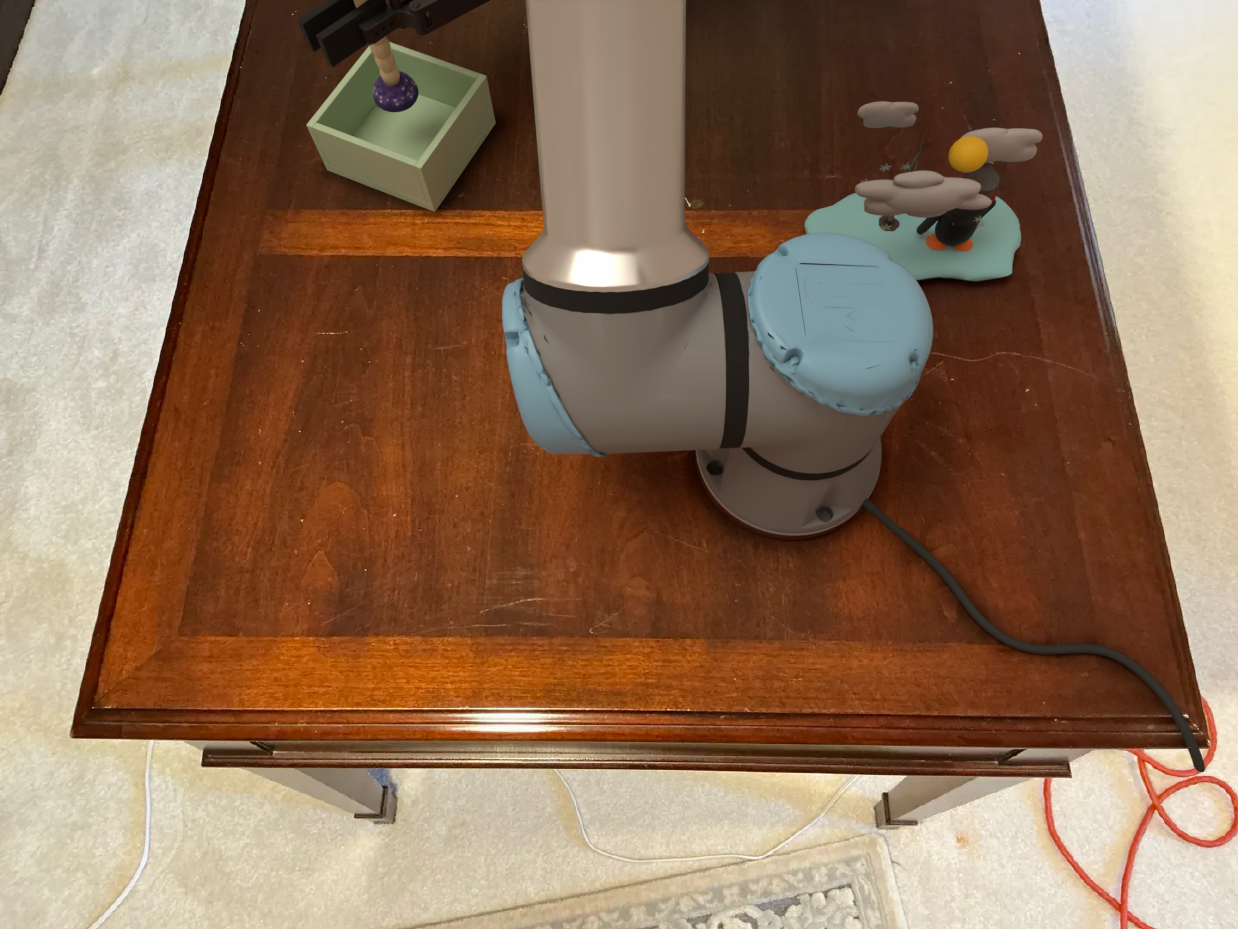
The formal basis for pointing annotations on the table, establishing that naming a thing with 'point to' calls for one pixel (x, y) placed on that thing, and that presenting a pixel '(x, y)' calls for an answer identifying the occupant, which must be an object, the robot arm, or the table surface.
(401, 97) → the toy lamp
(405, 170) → the tote
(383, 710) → the table surface
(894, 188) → the penguin figurine
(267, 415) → the table surface
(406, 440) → the table surface
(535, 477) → the table surface
